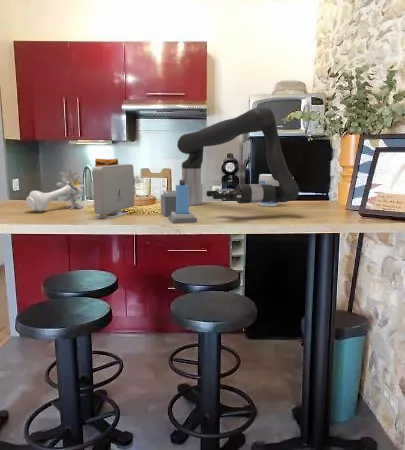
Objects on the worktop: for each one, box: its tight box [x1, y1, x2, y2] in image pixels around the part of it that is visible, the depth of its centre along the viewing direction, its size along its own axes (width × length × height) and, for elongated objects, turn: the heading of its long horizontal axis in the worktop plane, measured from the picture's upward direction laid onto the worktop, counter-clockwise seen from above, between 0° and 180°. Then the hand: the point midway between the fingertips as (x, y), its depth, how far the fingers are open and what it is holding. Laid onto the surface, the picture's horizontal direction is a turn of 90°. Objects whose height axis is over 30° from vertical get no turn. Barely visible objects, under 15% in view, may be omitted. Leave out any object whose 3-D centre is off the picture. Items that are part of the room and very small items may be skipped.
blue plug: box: [175, 179, 190, 214], centre depth 162 cm, size 4×4×14 cm
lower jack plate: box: [167, 210, 198, 224], centre depth 163 cm, size 9×9×3 cm
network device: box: [92, 163, 135, 219], centre depth 176 cm, size 26×9×20 cm, turn 161°
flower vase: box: [25, 169, 85, 213], centre depth 189 cm, size 13×18×25 cm
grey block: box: [160, 190, 176, 218], centre depth 177 cm, size 9×9×10 cm
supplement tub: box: [257, 173, 280, 208], centre depth 204 cm, size 10×10×15 cm
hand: (209, 194), depth 165 cm, fingers open, 8 cm apart
